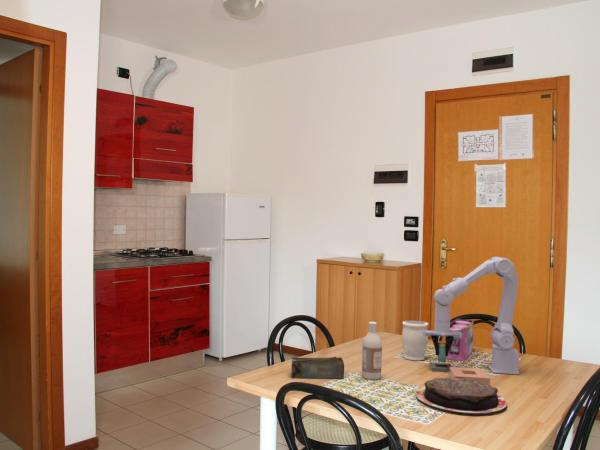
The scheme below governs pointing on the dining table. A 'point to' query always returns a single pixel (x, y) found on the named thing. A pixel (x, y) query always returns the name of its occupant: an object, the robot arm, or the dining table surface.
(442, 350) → the pin
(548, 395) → the dining table surface
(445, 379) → the chocolate cake
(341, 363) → the dark grey long block
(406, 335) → the jar
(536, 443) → the dining table surface
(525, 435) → the dining table surface
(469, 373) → the socket
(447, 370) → the mount
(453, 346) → the gum box
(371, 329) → the bath foam
